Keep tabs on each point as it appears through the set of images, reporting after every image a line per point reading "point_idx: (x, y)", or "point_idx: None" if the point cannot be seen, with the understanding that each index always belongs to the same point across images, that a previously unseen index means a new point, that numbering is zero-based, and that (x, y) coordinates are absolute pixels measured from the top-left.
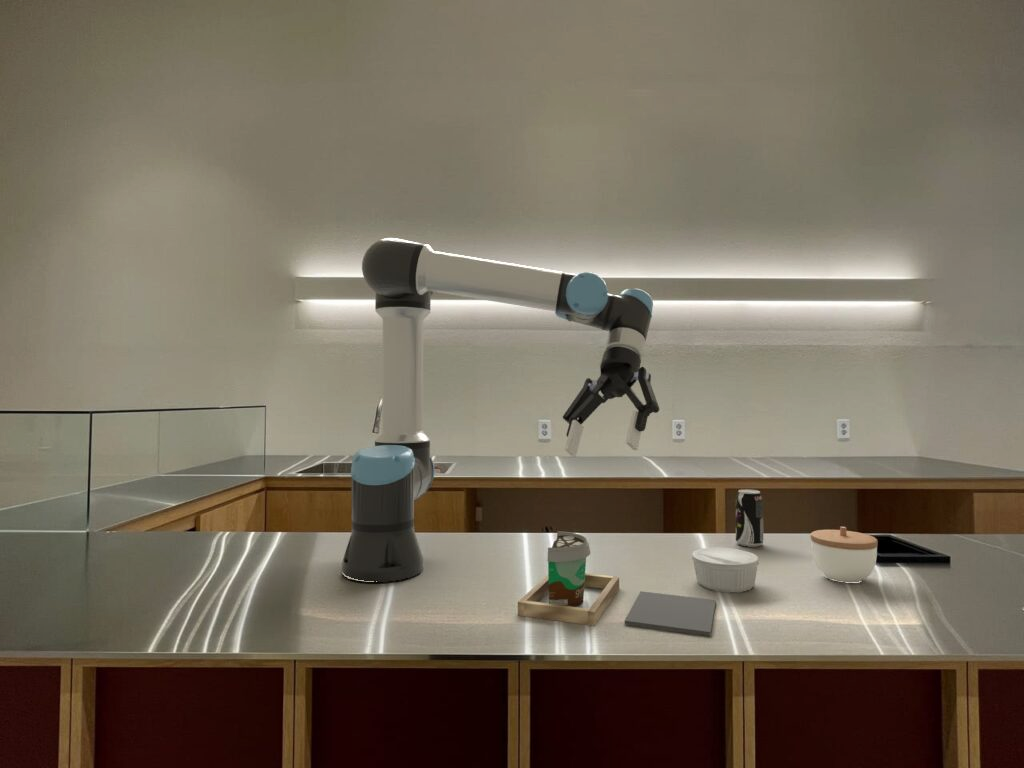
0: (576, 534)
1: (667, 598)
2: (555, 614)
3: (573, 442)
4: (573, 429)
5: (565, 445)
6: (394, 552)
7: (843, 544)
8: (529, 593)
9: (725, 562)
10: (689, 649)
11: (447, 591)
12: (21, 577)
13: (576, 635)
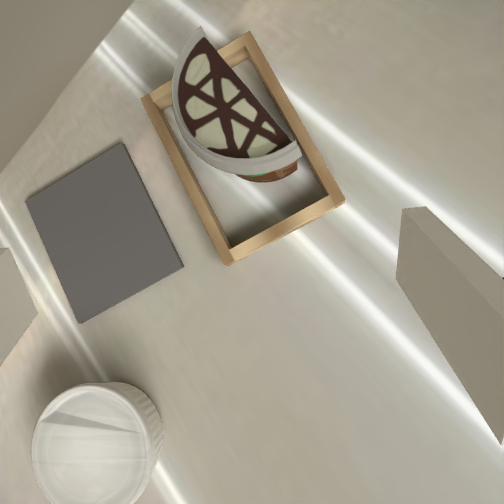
0: (243, 158)
1: (132, 270)
2: None
3: (424, 271)
4: (472, 292)
5: (437, 217)
6: None
7: None
8: (267, 71)
9: (74, 418)
10: (28, 148)
11: (432, 6)
12: None
13: (144, 65)
